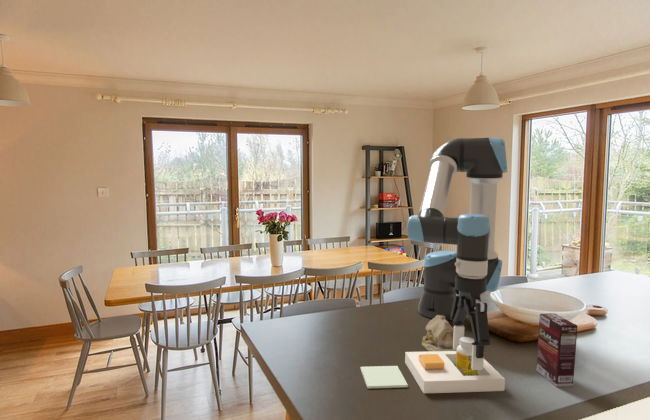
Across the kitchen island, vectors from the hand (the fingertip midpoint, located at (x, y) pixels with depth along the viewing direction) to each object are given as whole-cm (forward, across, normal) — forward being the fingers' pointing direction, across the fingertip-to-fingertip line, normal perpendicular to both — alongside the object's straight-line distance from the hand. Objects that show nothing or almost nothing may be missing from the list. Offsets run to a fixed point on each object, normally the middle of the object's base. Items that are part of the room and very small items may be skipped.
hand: (467, 358), depth 106 cm
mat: (+4, 0, -22) cm, 22 cm away
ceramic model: (+5, -17, 0) cm, 18 cm away
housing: (+4, 0, -4) cm, 6 cm away
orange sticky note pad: (+4, 0, -10) cm, 10 cm away
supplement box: (+5, +3, +22) cm, 23 cm away
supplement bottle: (+5, 0, 0) cm, 5 cm away
